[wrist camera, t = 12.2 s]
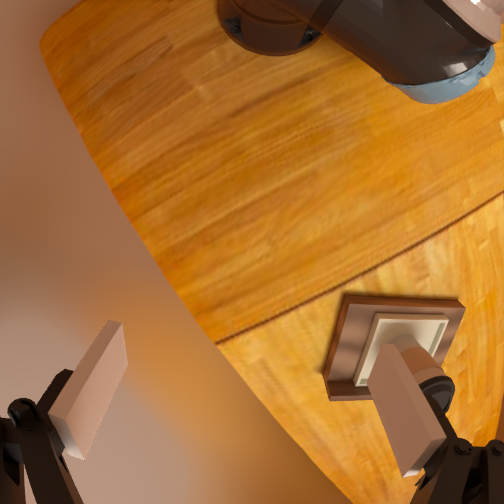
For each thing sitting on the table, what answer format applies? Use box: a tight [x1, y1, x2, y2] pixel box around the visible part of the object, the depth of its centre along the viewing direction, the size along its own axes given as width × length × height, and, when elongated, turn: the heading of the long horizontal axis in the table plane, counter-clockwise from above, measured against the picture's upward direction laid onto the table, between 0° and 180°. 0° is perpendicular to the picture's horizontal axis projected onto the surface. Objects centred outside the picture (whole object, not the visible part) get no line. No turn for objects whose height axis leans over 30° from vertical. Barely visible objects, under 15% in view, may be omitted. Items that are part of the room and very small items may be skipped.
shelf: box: [323, 295, 466, 401], centre depth 49 cm, size 17×24×7 cm
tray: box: [353, 313, 449, 387], centre depth 49 cm, size 14×14×2 cm
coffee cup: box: [388, 335, 455, 413], centre depth 42 cm, size 9×9×15 cm
